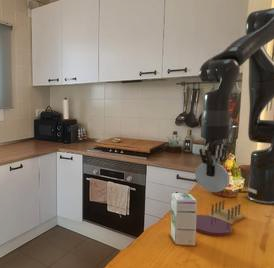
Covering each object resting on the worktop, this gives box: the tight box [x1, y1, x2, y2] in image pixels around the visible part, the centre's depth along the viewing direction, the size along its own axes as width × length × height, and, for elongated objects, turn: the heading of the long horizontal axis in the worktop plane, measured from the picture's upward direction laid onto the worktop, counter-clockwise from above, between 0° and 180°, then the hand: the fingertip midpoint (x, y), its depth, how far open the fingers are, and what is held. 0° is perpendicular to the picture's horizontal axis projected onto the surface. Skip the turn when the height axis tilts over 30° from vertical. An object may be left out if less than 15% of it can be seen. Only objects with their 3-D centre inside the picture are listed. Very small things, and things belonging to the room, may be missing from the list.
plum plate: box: [196, 214, 233, 237], centre depth 93 cm, size 13×13×1 cm
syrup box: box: [170, 192, 198, 246], centre depth 84 cm, size 6×6×14 cm
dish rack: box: [206, 198, 245, 226], centre depth 99 cm, size 10×8×5 cm
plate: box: [194, 162, 230, 193], centre depth 90 cm, size 1×10×10 cm, turn 31°
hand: (211, 175), depth 90 cm, fingers closed on plate, 1 cm apart
